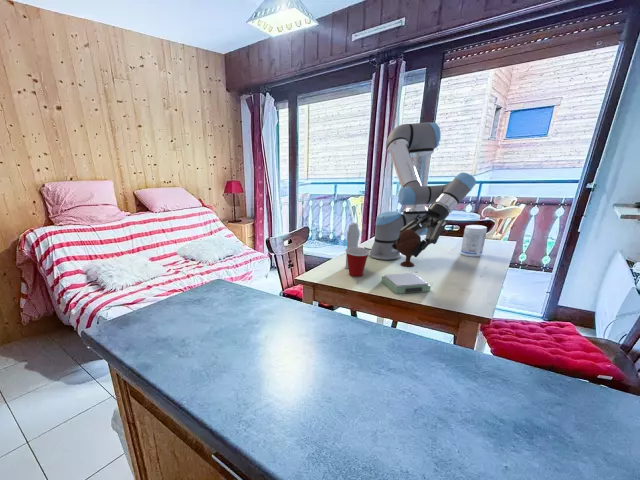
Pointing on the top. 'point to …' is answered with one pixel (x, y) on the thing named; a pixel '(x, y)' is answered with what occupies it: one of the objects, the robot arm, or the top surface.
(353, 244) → the tall pale column
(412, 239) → the ice cream bowl
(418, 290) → the scale
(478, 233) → the supplement tub
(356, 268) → the plastic cup
